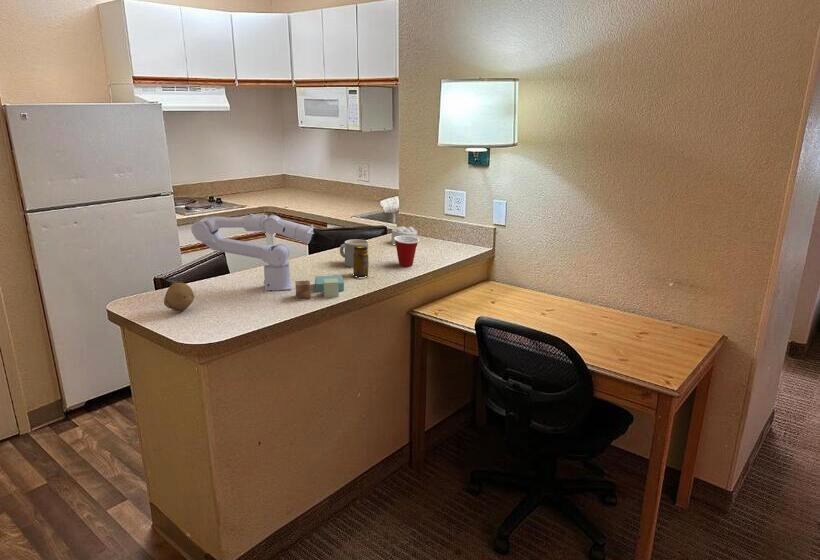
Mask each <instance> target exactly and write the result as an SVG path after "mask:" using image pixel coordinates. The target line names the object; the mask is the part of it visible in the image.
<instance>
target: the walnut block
mask: <svg viewBox="0 0 820 560" xmlns="http://www.w3.org/2000/svg"><path fill="white" fill-rule="evenodd" d="M294 283H295V298H296V299H306V300H311V299H310V298H311V297H312V296H311V295H312V294H311V281H310V280H295V281H294Z"/></svg>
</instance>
